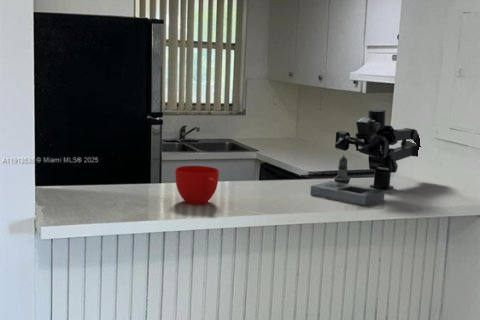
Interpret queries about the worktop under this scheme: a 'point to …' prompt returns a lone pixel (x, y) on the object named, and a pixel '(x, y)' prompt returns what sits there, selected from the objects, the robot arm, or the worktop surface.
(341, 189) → the grey flat block
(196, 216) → the worktop surface
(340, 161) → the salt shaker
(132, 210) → the worktop surface
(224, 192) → the worktop surface
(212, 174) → the ceramic cup
